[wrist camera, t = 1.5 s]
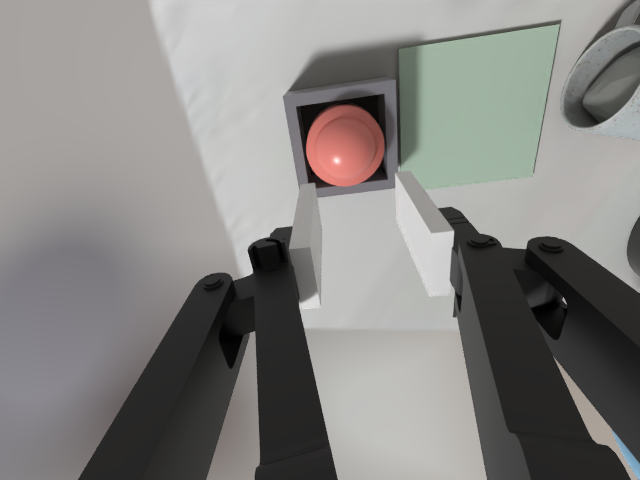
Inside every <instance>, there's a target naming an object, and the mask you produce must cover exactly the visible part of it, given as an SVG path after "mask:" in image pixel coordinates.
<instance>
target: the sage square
mask: <svg viewBox="0 0 640 480" xmlns="http://www.w3.org/2000/svg"><path fill="white" fill-rule="evenodd" d="M559 26H560V24H557V25H551V26H544V27H538V28H531V29H525V30H518V31H512V32H505V33H499V34H492V35H486V36H479V37H473V38H466V39H460V40H453V41H447V42H440V43H434V44H428V45H421V46H415V47H408V48H402V49H398V63H399V116H400V170H401V172H404V171H411V173H412V174H413V175H414V177H415V178H416V179H417V181H418V182H419V184H420V185H421V186H422V188H423V189H424V190H426V189H434V188H443V187H451V186H459V185H467V184H476V183H484V182H492V181H500V180H508V179H517V178H525V177H532V175H533V169H534V164H535V158H536V153H537V147H538V142H539V136H540V131H541V125H542V120H543V114H544V109H545V103H546V98H547V92H548V87H549V81H550V76H551V70H552V65H553V59H554V53H555V48H556V42H557V37H558V31H559Z"/></svg>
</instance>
